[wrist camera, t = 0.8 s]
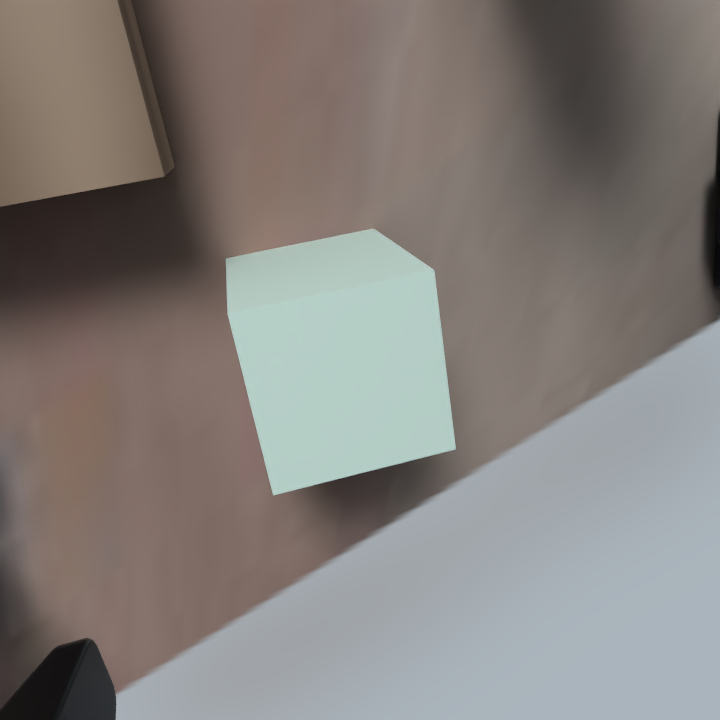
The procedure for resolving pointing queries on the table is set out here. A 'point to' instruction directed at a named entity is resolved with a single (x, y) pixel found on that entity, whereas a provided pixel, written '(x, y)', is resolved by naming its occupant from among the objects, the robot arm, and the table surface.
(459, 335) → the table surface
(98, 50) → the tan flat block
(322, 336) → the sage block
